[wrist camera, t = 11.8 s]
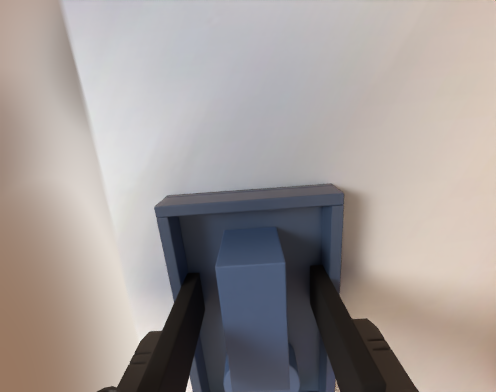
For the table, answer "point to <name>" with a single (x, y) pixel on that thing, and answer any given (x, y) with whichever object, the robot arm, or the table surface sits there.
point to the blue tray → (295, 254)
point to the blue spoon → (255, 312)
